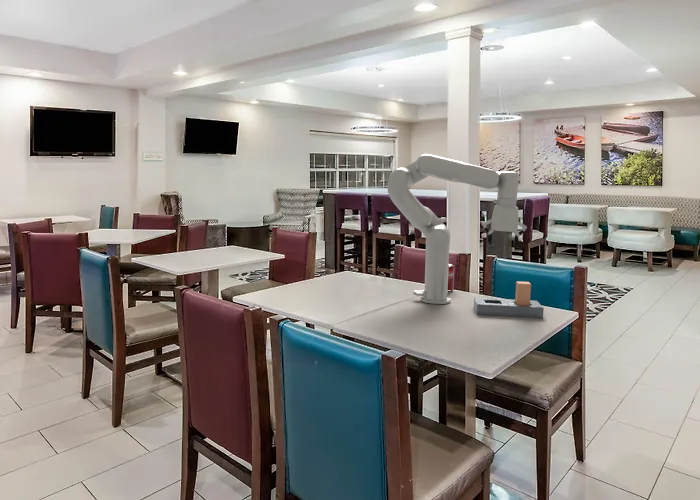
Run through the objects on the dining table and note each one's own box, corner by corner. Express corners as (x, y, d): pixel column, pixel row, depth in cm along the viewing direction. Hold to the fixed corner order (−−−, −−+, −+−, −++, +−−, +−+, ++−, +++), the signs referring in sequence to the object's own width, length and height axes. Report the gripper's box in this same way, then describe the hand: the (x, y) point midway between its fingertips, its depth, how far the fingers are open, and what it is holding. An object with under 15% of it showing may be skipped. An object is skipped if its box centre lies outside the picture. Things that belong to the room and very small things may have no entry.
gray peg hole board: (476, 314, 191) (477, 304, 191) (473, 307, 203) (474, 297, 203) (543, 318, 188) (543, 307, 187) (536, 310, 200) (536, 300, 199)
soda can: (453, 292, 233) (454, 266, 231) (437, 291, 234) (438, 265, 233) (453, 289, 240) (454, 264, 238) (437, 288, 241) (438, 263, 240)
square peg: (516, 314, 193) (518, 283, 191) (514, 311, 197) (516, 281, 196) (529, 315, 192) (531, 284, 191) (526, 312, 197) (528, 281, 195)
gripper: (484, 201, 200) (480, 244, 202) (530, 204, 197) (525, 248, 199) (483, 201, 208) (479, 242, 210) (527, 204, 204) (523, 246, 207)
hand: (502, 245), depth 204 cm, fingers open, 9 cm apart
